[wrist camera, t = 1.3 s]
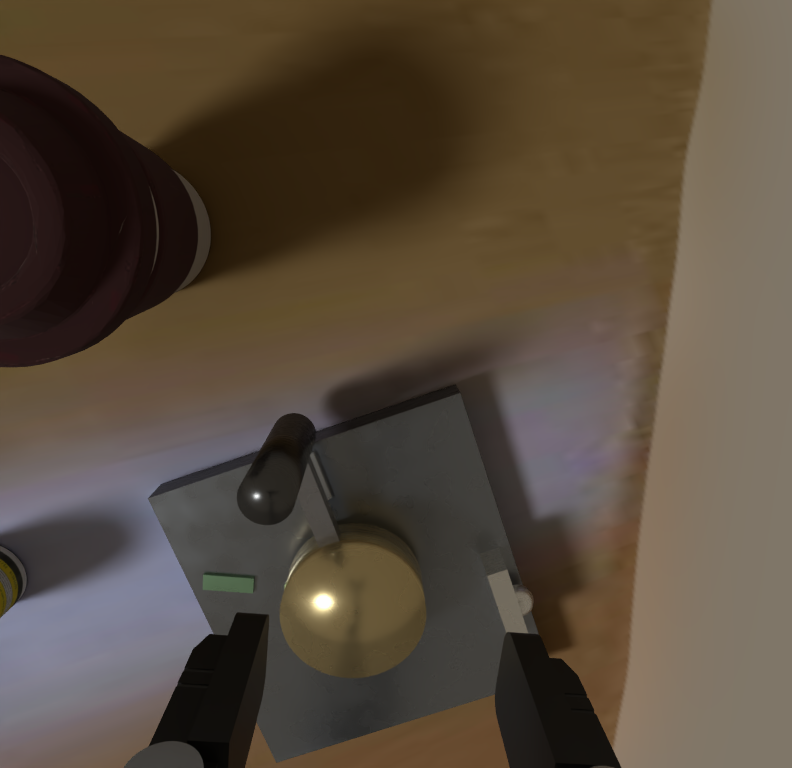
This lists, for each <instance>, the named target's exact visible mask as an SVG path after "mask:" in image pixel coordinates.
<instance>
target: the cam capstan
mask: <svg viewBox="0 0 792 768" xmlns="http://www.w3.org/2000/svg"><path fill="white" fill-rule="evenodd" d="M315 439H316V430H315V427H314V425H313V423H312V422H311V421H310V420H309V419H308V418H307V417H305V416H303V415H301V414H296V413H291V414H286V415H284V416H282V417H281V418H279V419H278V420H277V422H276V423H275V425H274V427H273V428H272V430H271V432H270V434H269V435H268V437H267V439H266V441H265V442H264V444H263V446H262V448H261V449H260V451H259V453H258V455H257V456H256V458H255V460H254V462H253V463H252V465H251V467H250V469H249V470H248V472H247V474H246V475H245V477H244V479H243V481H242V482H241V484H240V486H239V488H238V491H237V504H238V507H239V509H240V511H241V512H242V514H243V515H244V516H245V517H246V518H247V519H249V520H250V521H252V522H254V523H257V524H261V525H274V524H277V523H280V522H282V521H283V520H285V519H286V518H287V517H288V516H289V515H290V514H291V512H292V511H293V508H294V506H295V502H296V499H297V496H298V498H299V501H300V503H301V506H302V508H303V510H304V513H305V515H306V518H307V520H308V522H309V525H310V527H311V530H312V532H313V534H314V536H313V537H312V538H310V539H309V540H308V541H307V542H306V543H305V544H304V545H303V546H302V547H301V548H300V550H299V551H298V552H297V554H296V556H295V557H294V559H293V562H292V564H291V567H290V570H289V574H288V578H287V581H286V585H285V589H284V593H283V596H282V600H281V604H280V624H281V628H282V632H283V635H284V637H285V639H286V641H287V643H288V645H289V646H290V648H291V649H292V650H293V652H294V653H295V654H296V655H297V656H298V657H299V658H300V659H301V660H302V661H304V662H305V663H306V664H307V665H309V666H311V667H312V668H314V669H316V670H318V671H320V672H322V673H325V674H328V675H331V676H336V677H342V678H362V677H369V676H373V675H377V674H380V673H382V672H385V671H387V670H389V669H391V668H393V667H395V666H396V665H398V664H399V663H401V662H402V661H403V660H404V659H405V658H406V657H408V656H409V655H410V653H411V652H412V651H413V650H414V649H415V647H416V646H417V644H418V643H419V641H420V639H421V636H422V634H423V631H424V628H425V623H426V604H425V596H424V589H423V582H422V575H421V570H420V566H419V563H418V561H417V559H416V556H415V555H414V553H413V552H412V550H411V549H410V548H409V546H408V545H407V544H406V543H405V542H404V541H403V540H402V539H400V538H399V537H398V536H396V535H395V534H393V533H392V532H390V531H388V530H386V529H384V528H381V527H378V526H375V525H370V524H364V523H347V524H340V525H338V524H337V522H336V519H335V517H334V514H333V512H332V509H331V507H330V504H329V502H328V499H327V497H326V494H325V492H324V489H323V487H322V484H321V482H320V479H319V477H318V474H317V472H316V469H315V467H314V464H313V462H312V459H311V457H310V455H311V452H312V448H313V445H314V442H315Z"/></svg>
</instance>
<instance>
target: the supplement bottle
mask: <svg viewBox="0 0 792 768" xmlns="http://www.w3.org/2000/svg"><path fill="white" fill-rule="evenodd" d="M26 583H27V577H26V572H25V569H24V567H23V565H22V563H21V562H20V560H19V559H18V558H17V557H16V556H15V555H14V554H13V553H12V552H10V551H9V550H7V549H6V548H4V547H2V546H0V618H1V617H2V616H3V615H4V614H5V613H6V612H7V611H8V610H9V609H10V608H11V607H12V606H13V605H14V604H15V603H16V602H17V601H18V600H19V599H20V598H21V596H22V595H23V593H24V591H25V588H26Z"/></svg>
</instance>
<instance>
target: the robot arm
mask: <svg viewBox="0 0 792 768" xmlns="http://www.w3.org/2000/svg"><path fill="white" fill-rule="evenodd" d="M268 633H269V614H256V613H242V612H237V613H236V615H235V617H234V620H233V622H232V625H231V628H230V630H229V633H228V635H216V634H209V635H208V636H207V637H206V638H205V639H204V640H203V641H202V642H200V643H199V644H198V645H197V646H196V647H195V648H194V649H193V650H192V653H191V655H190V657H189V659H188V661H187V664H186V666H185V669H184V671H183V672H182V675H181V677H180V679H179V681H178V685H177V687H176V688H175V690H174V692H173V694H172V697H171V699H170V701H169V703H168V705H167V708H166V710H165V712H164V714H163V716H162V718H161V721H160V723H159V725H158V727H157V729H156V732H155V734H154V736H153V738H152V740H151V743H150V745H149V746H148V747H147V748H145V749H143V750H142V751H140V752H138V753H137V754H136V755H135V756H133V757H132V758H131V759H130V760H129V761H128V762H127V764H126V765H125V766H124V768H245V765H246V761H247V757H248V753H249V749H250V745H251V741H252V737H253V733H254V729H255V725H256V721H257V717H258V713H259V709H260V705H261V701H262V696H263V691H264V685H265V677H266V665H267V649H268ZM495 707H496V715H497V719H498V723H499V727H500V731H501V735H502V739H503V743H504V747H505V751H506V754H507V758H508V762H509V766H510V768H621V766H620V764H619V762H618V760H617V758H616V755H615V753H614V751H613V749H612V747H611V745H610V743H609V741H608V738H607V736H606V734H605V732H604V730H603V728H602V726H601V724H600V722H599V719H598V717H597V715H596V714H594V709H593V707H592V705H591V702H590V700H589V698H587V694H586V692H585V690H584V688H583V685H582V683H581V681H580V679H579V677H578V675H577V674H576V673H575V672H574V671H573V670H572V669H571V668H570V667H569V666H568V665H567V664H566V663H565V662H564V661H563V660H562V659H557V658H549V656H548V653H547V651H546V649H545V646H544V644H543V641H542V639H541V637H540V636H539V635H538V634H530V633H516V632H507V633H506V634H505V637H504V641H503V647H502V653H501V658H500V664H499V670H498V676H497V682H496V689H495Z"/></svg>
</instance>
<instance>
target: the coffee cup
mask: <svg viewBox="0 0 792 768" xmlns="http://www.w3.org/2000/svg"><path fill="white" fill-rule="evenodd" d="M210 242H211V229H210V221H209V217H208V214H207V211H206V208H205V206H204V204H203V202H202V200H201V198H200V196H199V195H198V193H197V192H196V190H195V189H194V188H193V186H192V185H191V184H190V183H189V182H188V181H187V180H186V179H185V178H184V177H183V176H181V175H180V174H179V173H177V172H176V171H174V170H173V169H172V168H171V167H170V166H169V165H168V164H167V163H166V162H165V161H163V160H162V159H161V158H160V157H159V156H157V155H156V154H155V153H153V152H152V151H151V150H149V149H147V148H146V147H144V146H143V145H141V144H140V143H138V142H137V141H135V140H133V139H132V138H130V137H129V136H127V135H126V134H124V133H122V132H121V131H119V130H118V129H117V127H116V126H115V125H114V124H113V122H112V121H111V120H110V119H109V118H108V117H107V116H106V115H105V114H104V113H103V112H102V111H101V110H100V109H99V108H98V107H97V106H95V105H94V104H93V103H92V102H90V101H89V100H88V99H87V98H85V97H84V96H83V95H82V94H80V93H79V92H77V91H76V90H74V89H73V88H71V87H70V86H68V85H67V84H65V83H63V82H61V81H59V80H57V79H56V78H54V77H52V76H50V75H48V74H46V73H44V72H42V71H41V70H39V69H37V68H35V67H32V66H30V65H28V64H25V63H23V62H21V61H18V60H16V59H13V58H10V57H6V56H3V55H0V367H27V366H34V365H40V364H44V363H48V362H52V361H55V360H58V359H61V358H64V357H67V356H70V355H73V354H75V353H78V352H80V351H83V350H85V349H87V348H89V347H91V346H93V345H95V344H97V343H99V342H100V341H101V340H103V339H104V338H106V337H107V336H108V335H110V334H111V333H112V332H113V331H115V330H116V329H117V328H118V327H119V326H120V325H121V324H122V323H123V322H124V321H125V320H126V319H129V318H131V317H133V316H135V315H137V314H139V313H141V312H144V311H146V310H148V309H150V308H152V307H154V306H156V305H158V304H160V303H161V302H163V301H164V300H166V299H167V298H169V297H170V296H171V295H172V294H173V293H175V292H177V291H179V290H181V289H182V288H184V287H185V286H187V285H188V284H189V283H190V282H191V281H193V280H194V278H195V277H196V276H197V275H198V274H199V272H200V271H201V269H202V268H203V266H204V264H205V262H206V259H207V256H208V253H209V248H210Z"/></svg>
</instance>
